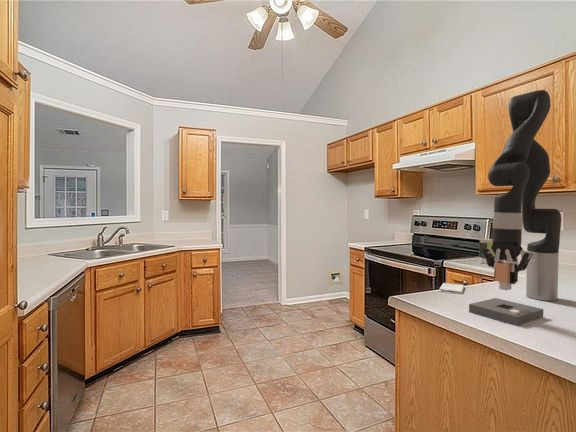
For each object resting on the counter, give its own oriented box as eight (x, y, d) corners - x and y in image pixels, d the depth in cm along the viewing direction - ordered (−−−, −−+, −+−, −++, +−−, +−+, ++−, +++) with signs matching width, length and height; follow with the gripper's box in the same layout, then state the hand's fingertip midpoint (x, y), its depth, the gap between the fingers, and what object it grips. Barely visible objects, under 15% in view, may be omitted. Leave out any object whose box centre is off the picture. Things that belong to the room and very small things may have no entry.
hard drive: (442, 282, 140) (438, 288, 130) (464, 285, 136) (462, 291, 126) (442, 286, 140) (438, 292, 130) (464, 288, 136) (462, 295, 126)
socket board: (495, 305, 111) (495, 295, 111) (543, 317, 99) (543, 306, 99) (469, 311, 104) (469, 301, 104) (517, 325, 92) (517, 314, 92)
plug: (503, 287, 104) (504, 262, 104) (515, 289, 101) (516, 263, 101) (494, 288, 101) (495, 263, 101) (506, 291, 98) (507, 265, 98)
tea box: (513, 265, 192) (514, 240, 191) (506, 266, 186) (506, 241, 186) (486, 261, 204) (487, 238, 204) (478, 263, 198) (479, 239, 198)
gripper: (539, 228, 96) (537, 286, 97) (490, 226, 109) (489, 277, 109) (526, 228, 93) (524, 288, 93) (477, 226, 105) (475, 279, 105)
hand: (505, 282), depth 101 cm, fingers closed on plug, 3 cm apart
